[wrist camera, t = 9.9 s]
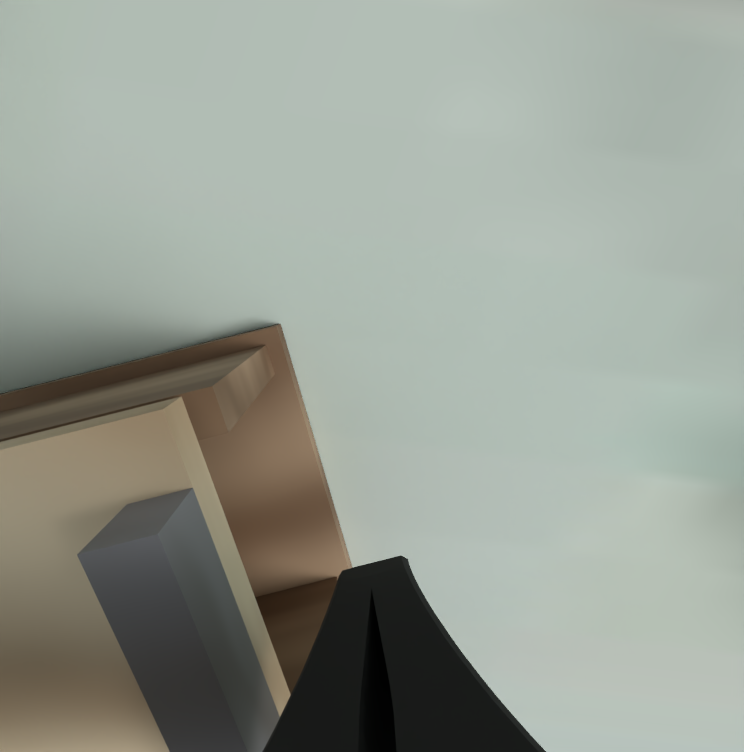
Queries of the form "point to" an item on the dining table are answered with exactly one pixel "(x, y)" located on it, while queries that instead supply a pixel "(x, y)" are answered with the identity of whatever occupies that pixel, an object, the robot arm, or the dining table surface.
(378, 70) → the dining table surface
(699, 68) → the dining table surface
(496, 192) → the dining table surface
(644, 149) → the dining table surface
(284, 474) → the brown wooden box
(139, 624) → the lid
